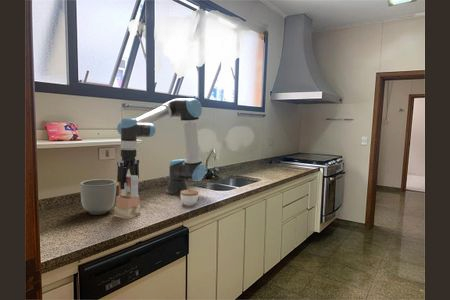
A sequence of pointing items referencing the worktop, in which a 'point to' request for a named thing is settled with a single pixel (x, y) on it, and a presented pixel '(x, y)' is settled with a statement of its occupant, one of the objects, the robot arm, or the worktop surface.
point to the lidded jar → (189, 197)
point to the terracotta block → (127, 202)
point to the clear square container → (127, 212)
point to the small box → (130, 186)
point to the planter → (98, 195)
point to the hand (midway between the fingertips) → (128, 193)
